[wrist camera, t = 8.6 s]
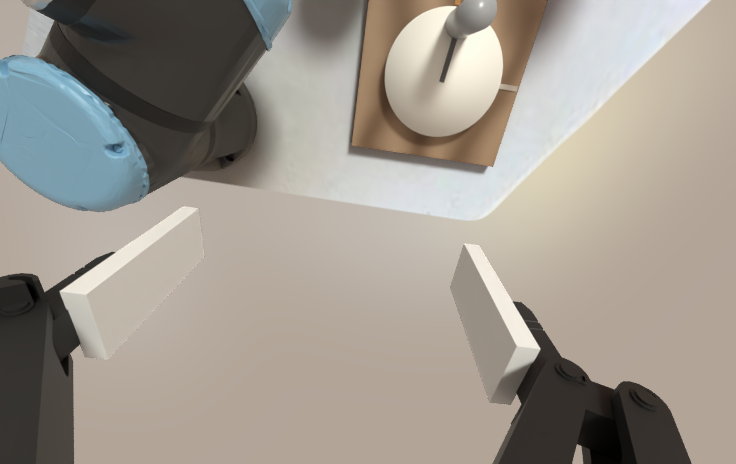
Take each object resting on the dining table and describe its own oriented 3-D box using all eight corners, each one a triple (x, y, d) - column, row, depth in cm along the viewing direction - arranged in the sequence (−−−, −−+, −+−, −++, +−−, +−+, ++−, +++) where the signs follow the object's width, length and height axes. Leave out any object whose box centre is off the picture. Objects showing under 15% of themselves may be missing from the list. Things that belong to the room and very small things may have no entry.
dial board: (352, 143, 44) (351, 145, 43) (373, -35, 35) (373, -40, 34) (489, 163, 45) (493, 166, 44) (544, -6, 36) (550, -9, 35)
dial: (473, 145, 43) (497, 163, 34) (373, 121, 42) (372, 133, 33) (517, 25, 36) (560, 11, 28) (401, -7, 35) (409, -31, 27)
